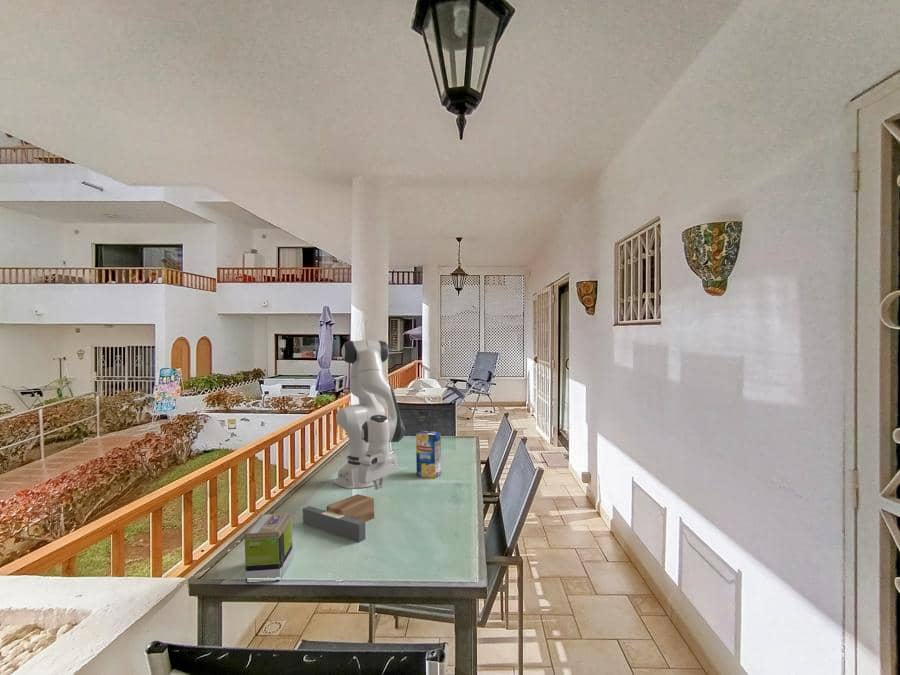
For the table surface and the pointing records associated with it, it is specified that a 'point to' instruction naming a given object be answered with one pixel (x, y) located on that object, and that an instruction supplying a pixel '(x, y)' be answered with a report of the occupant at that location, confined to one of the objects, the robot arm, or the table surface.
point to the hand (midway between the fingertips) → (378, 488)
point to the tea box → (268, 546)
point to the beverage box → (428, 454)
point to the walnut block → (354, 507)
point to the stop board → (334, 523)
